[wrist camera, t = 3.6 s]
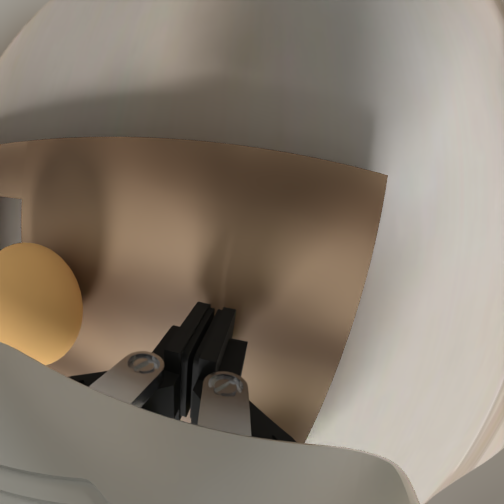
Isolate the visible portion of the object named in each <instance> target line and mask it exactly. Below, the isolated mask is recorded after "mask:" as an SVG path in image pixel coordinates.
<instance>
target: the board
mask: <svg viewBox="0 0 504 504" xmlns="http://www.w3.org/2000/svg"><path fill="white" fill-rule="evenodd" d="M387 177H388V175H384V174H381V173H377V172H373V171H370V170H366V169H362V168H358V167H354V166H350V165H345V164H341V163H337V162H332V161H328V160H323V159H318V158H313V157H308V156H303V155H298V154H293V153H287V152H281V151H275V150H269V149H263V148H256V147H249V146H241V145H234V144H225V143H216V142H207V141H196V140H183V139H169V138H149V137H74V138H56V139H42V140H31V141H22V142H13V143H6V144H0V196H1V197H9V198H17V199H22V206H21V240H22V243H35V244H39V245H42V246H44V247H47V248H49V249H51V250H52V251H54V252H55V253H56V254H58V255H59V256H60V257H61V258H62V259H63V260H64V261H65V262H66V263H67V265H68V266H69V267H70V269H71V270H72V272H73V273H74V275H75V277H76V279H77V282H78V284H79V287H80V291H81V295H82V302H83V317H82V324H81V328H80V331H79V334H78V337H77V339H76V341H75V342H74V344H73V346H72V347H71V349H70V350H69V351H68V352H67V353H66V354H65V355H64V356H63V357H61V358H60V359H59V360H57V361H55V362H53V363H51V364H48V365H46V366H48V367H50V368H51V369H53V370H55V371H57V372H59V373H61V374H63V375H65V376H67V377H69V376H74V375H82V374H89V373H96V372H103V371H108V370H110V369H111V368H112V367H113V366H115V365H116V364H117V363H118V362H120V361H121V360H122V359H123V358H124V357H126V356H127V355H129V354H130V353H133V352H137V351H147V352H151V353H152V352H153V350H154V349H155V348H156V346H157V345H158V344H159V342H160V341H161V340H162V338H163V337H164V336H165V334H166V333H167V332H168V330H169V329H170V328H171V327H172V326H173V325H175V326H179V327H180V326H181V324H182V323H183V322H184V320H185V319H186V317H187V316H188V315H189V313H190V312H191V310H192V309H193V307H194V306H195V305H196V303H197V302H203V303H207V304H211V308H215V313H214V316H215V314H216V312H217V310H218V309H220V310H222V309H223V307H227V308H232V309H236V317H235V323H234V330H233V336H232V338H233V339H238V340H243V341H248V344H247V349H246V355H245V360H244V365H243V370H242V375H241V377H242V378H243V379H244V380H245V381H246V382H247V385H248V391H249V400H250V401H251V402H252V403H253V404H254V405H255V406H256V407H257V408H258V409H260V410H261V411H262V412H263V413H264V414H265V415H266V416H267V417H269V418H270V419H271V420H272V421H273V422H274V423H276V424H277V425H278V426H279V427H280V428H281V429H283V430H284V431H285V432H286V433H288V434H289V435H290V436H291V437H292V438H293V439H294V440H295V441H296V442H298V443H305V441H306V439H307V437H308V434H309V432H310V430H311V428H312V426H313V424H314V422H315V420H316V417H317V415H318V413H319V411H320V408H321V406H322V404H323V401H324V399H325V397H326V394H327V392H328V390H329V387H330V385H331V382H332V380H333V377H334V375H335V372H336V369H337V367H338V364H339V361H340V359H341V356H342V353H343V350H344V348H345V345H346V342H347V339H348V336H349V333H350V330H351V327H352V324H353V321H354V318H355V315H356V311H357V308H358V305H359V302H360V298H361V295H362V291H363V288H364V284H365V280H366V277H367V273H368V269H369V265H370V261H371V257H372V253H373V249H374V245H375V240H376V236H377V231H378V227H379V222H380V217H381V212H382V207H383V201H384V195H385V190H386V184H387ZM180 420H181V421H184V422H188V423H191V418H190V410H189V413H188V415H187V417H184V416H182V417H181V419H180Z"/></svg>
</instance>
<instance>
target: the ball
mask: <svg viewBox="0 0 504 504" xmlns="http://www.w3.org/2000/svg"><path fill="white" fill-rule="evenodd" d="M82 317H83V302H82V295H81V291H80V287H79V284H78V282H77V279H76V277H75V275H74V273H73V272H72V270H71V269H70V267H69V266H68V265H67V263H66V262H65V261H64V260H63V259H62V258H61V257H60V256H59V255H58V254H56V253H55V252H54V251H52V250H51V249H49V248H47V247H44V246H42V245H39V244H35V243H17V244H13V245H10V246H8V247H5V248H4V249H2V250H0V342H2V343H4V344H7V345H9V346H11V347H13V348H15V349H18V350H19V351H21V352H23V353H24V354H26V355H28V356H30V357H32V358H33V359H35V360H37V361H39V362H41V363H42V364H44V365H48V364H51V363H53V362H55V361H57V360H59V359H60V358H61V357H63V356H64V355H65V354H66V353H67V352H68V351H69V350H70V349H71V347H72V346H73V344H74V342H75V341H76V339H77V337H78V334H79V331H80V328H81V324H82Z"/></svg>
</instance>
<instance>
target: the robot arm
mask: <svg viewBox="0 0 504 504" xmlns="http://www.w3.org/2000/svg"><path fill="white" fill-rule="evenodd" d="M214 313H215V308H211V304H207V303H203V302H197V303H196V305H195V306H194V307H193V309H192V310H191V312H190V313H189V315H188V316H187V317H186V319H185V320H184V322H183V323H182V324H181V326H180V327H179V326H175V325H173V326H172V327H171V328H170V329H169V330H168V332H167V333H166V334H165V336H164V337H163V338H162V340H161V341H160V342H159V344H158V345H157V346H156V348H155V349H154V350H153V352H152V353H151V352H147V351H137V352H133V353H130V354H129V355H127V356H126V357H124V358H123V359H122V360H121V361H120V362H118V363H117V364H116V365H115V366H113V367H112V368H111V369H110V370H108V371H103V372H96V373H89V374H82V375H74V376H69V377H67V376H65V375H63V374H61V373H59V372H57V371H55V370H53V369H51V368H50V367H48V366H46V365H44V364H42V363H41V362H39V361H37V360H35V359H33V358H32V357H30V356H28V355H26V354H24V353H23V352H21V351H19V350H18V349H15V348H13V347H11V346H9V345H7V344H4V343H2V342H0V504H420V503H419V501H418V498H417V495H416V493H415V490H414V488H413V486H412V484H411V482H410V480H409V478H408V477H407V475H406V474H405V472H404V471H403V470H402V469H401V468H400V467H399V466H398V465H397V464H395V463H394V462H392V461H391V460H388V459H386V458H384V457H381V456H379V455H375V454H372V453H368V452H365V451H361V450H355V449H350V448H345V447H336V446H328V445H316V444H306V443H298V442H296V441H295V440H294V439H293V438H292V437H291V436H290V435H289V434H288V433H286V432H285V431H284V430H283V429H281V428H280V427H279V426H278V425H277V424H276V423H274V422H273V421H272V420H271V419H270V418H269V417H267V416H266V415H265V414H264V413H263V412H262V411H261V410H260V409H258V408H257V407H256V406H255V405H254V404H253V403H252V402H251V401H250V400H249V391H248V385H247V382H246V381H245V380H244V379H243V378H242V377H241V375H242V370H243V365H244V360H245V355H246V349H247V344H248V341H243V340H238V339H233V338H232V336H233V330H234V323H235V317H236V309H232V308H227V307H223V309H222V310H220V309H218V310H217V312H216V314H215V316H214ZM189 410H190V418H191V423H188V422H184V421H181V420H180V419H181V417H182V416H184V417H187V415H188V413H189Z"/></svg>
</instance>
